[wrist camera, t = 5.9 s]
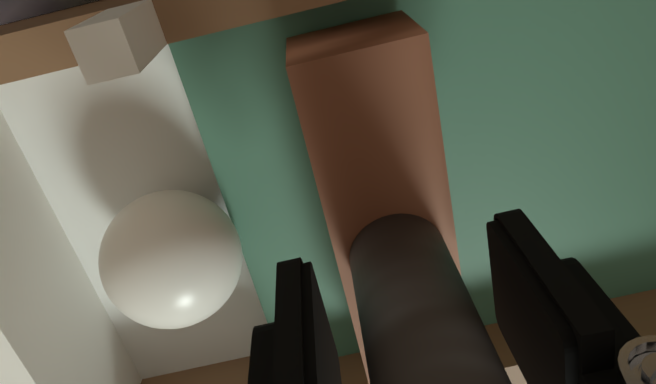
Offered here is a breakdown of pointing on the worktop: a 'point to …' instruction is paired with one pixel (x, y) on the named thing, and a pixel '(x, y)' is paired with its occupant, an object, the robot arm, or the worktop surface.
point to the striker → (389, 200)
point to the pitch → (302, 163)
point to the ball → (170, 259)
